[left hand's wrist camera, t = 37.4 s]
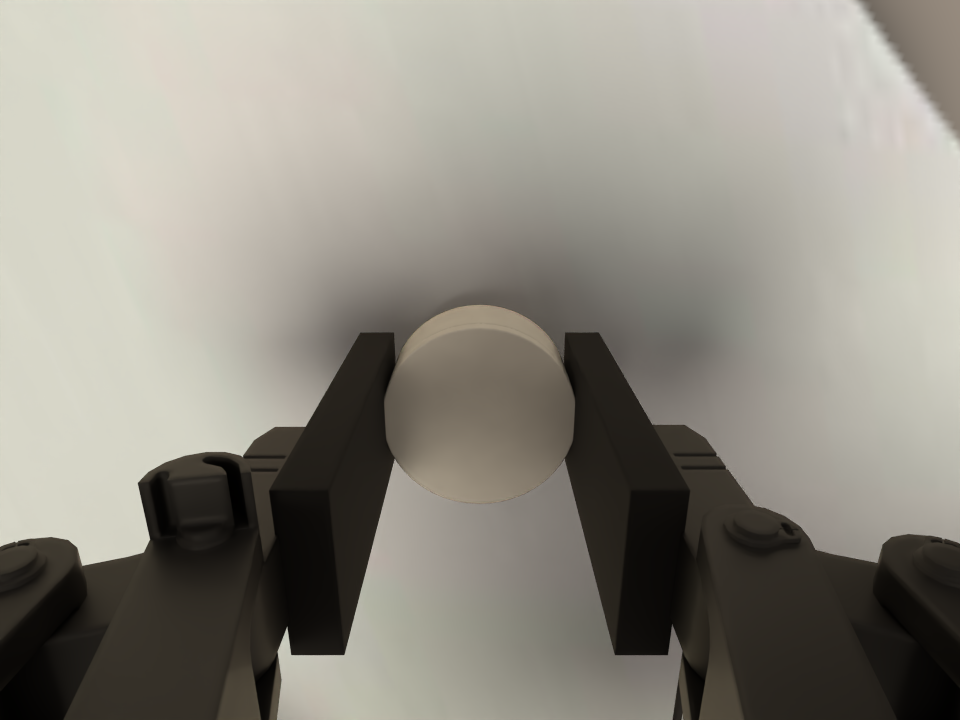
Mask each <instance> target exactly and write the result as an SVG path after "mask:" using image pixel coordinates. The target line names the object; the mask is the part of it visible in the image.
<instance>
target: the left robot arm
mask: <svg viewBox="0 0 960 720" xmlns="http://www.w3.org/2000/svg"><path fill="white" fill-rule="evenodd" d="M395 365H396V363H395V343H394V333H360V334H359V336H358V338H357V340H356V341H355V343H354V345H353V346H352V348H351V350H350V352H349V353H348V355H347V357H346V359H345V360H344V362H343V364H342V365H341V367H340V369H339V371H338V372H337V374H336V376H335V377H334V379H333V381H332V383H331V384H330V386H329V388H328V389H327V391H326V393H325V395H324V396H323V398H322V400H321V402H320V403H319V405H318V407H317V408H316V410H315V412H314V414H313V415H312V417H311V419H310V420H309V422H308V424H307V426H306V427H274V428H273V429H271V430H270V431H268V432H267V433H265V434H263V435H262V436H260V437H259V438H257V439H256V440H254V441H253V443H252V444H251V446H250V447H249V448H248V450H247V451H246V453H245V454H244V455H243V457H242V456H239V455H235V454H231V453H227V452H205V453H199V454H193V455H187V456H183V457H180V458H177V459H175V460H172V461H169V462H166V463H164V464H162V465H160V466H158V467H157V468H155V469H153V470H151V471H150V472H148V473H147V474H146V475H145V476H144V477H143V478H142V479H141V480H140V481H139V482H138V486H139V491H140V495H141V500H142V504H143V509H144V513H145V518H146V522H147V527H148V531H149V536H150V541H149V543H148V545H147V547H146V549H145V552H144V553H141V554H137V555H134V556H130V557H125V558H120V559H115V560H110V561H105V562H100V563H95V564H90V565H85V566H82V564H81V560H80V556H79V553H78V549H77V547H76V546H75V545H73V544H72V543H71V542H70V541H69V540H64V539H59V538H53V537H48V538H37V539H26V540H21V541H18V542H17V543H15V542H13V543H10V544H6V545H3V546H1V547H0V720H277V713H278V704H279V696H280V688H281V673H280V666H279V659H278V652H277V651H278V649H279V646H280V644H281V641H282V638H283V636H284V633H285V631H286V628H287V627H288V634H289V641H290V649H291V655H344V654H345V650H346V646H347V643H348V639H349V635H350V631H351V627H352V623H353V619H354V615H355V611H356V607H357V604H358V600H359V596H360V592H361V588H362V584H363V580H364V576H365V572H366V568H367V564H368V561H369V557H370V553H371V549H372V545H373V541H374V537H375V533H376V529H377V525H378V521H379V518H380V514H381V510H382V506H383V502H384V498H385V494H386V490H387V486H388V482H389V479H390V475H391V471H392V467H393V463H394V459H395V458H394V456H393V454H392V453H391V451H390V448H389V446H388V444H387V441H386V427H385V410H384V396H385V393H386V390H387V387H388V384H389V381H390V379H391V376H392V373H393V370H394V367H395ZM564 366H565V369H566V372H567V375H568V378H569V380H570V383H571V386H572V389H573V393H574V396H575V415H574V432H573V442H572V444H571V447H570V449H569V451H568V453H567V455H566V457H565V462H566V466H567V469H568V473H569V477H570V481H571V485H572V489H573V493H574V497H575V501H576V505H577V509H578V512H579V516H580V520H581V524H582V528H583V532H584V536H585V540H586V544H587V548H588V552H589V555H590V559H591V563H592V567H593V571H594V575H595V579H596V583H597V587H598V591H599V595H600V598H601V602H602V606H603V610H604V614H605V618H606V622H607V626H608V630H609V634H610V638H611V641H612V645H613V649H614V653H615V655H668V651H669V643H670V636H671V629H672V624H673V627H674V629H675V632H676V635H677V637H678V640H679V642H680V645H681V648H682V650H683V652H682V659H681V666H680V673H679V680H678V686H677V693H676V700H675V707H674V714H673V720H681V719H682V713H683V719H684V720H960V544H959V543H957V542H954V541H950V540H947V539H945V540H943V539H942V538H939V537H934V536H923V535H912V534H907V535H901V536H896V537H891V538H890V539H889V540H888V541H887V542H885V543H884V544H883V545H882V549H881V553H880V557H879V560H878V563H874V562H869V561H864V560H859V559H854V558H848V557H843V556H838V555H833V554H829V553H825V552H821V551H817V550H815V548H814V546H813V544H812V542H811V540H810V538H809V537H808V536H807V535H806V533H805V532H804V531H803V530H802V528H801V527H800V526H798V525H797V524H795V523H794V522H792V521H791V520H789V519H788V518H786V517H785V516H783V515H781V514H778V513H776V512H773V511H771V510H768V509H766V508H761V507H756V506H754V505H753V503H752V502H751V501H750V499H749V498H748V496H747V495H746V494H745V492H744V491H743V490H742V488H741V487H740V485H739V484H738V483H737V481H736V480H735V479H734V477H733V476H732V474H731V473H730V472H729V470H726V466H725V465H724V463H723V462H722V461H721V459H720V458H719V457H717V456H716V452H715V451H714V450H713V448H712V447H711V445H710V444H709V443H708V441H707V440H706V439H705V438H704V437H703V436H701V435H699V434H698V433H696V432H695V431H693V430H691V429H690V428H688V427H687V426H685V425H652V424H651V422H650V420H649V418H648V417H647V415H646V413H645V411H644V410H643V408H642V406H641V405H640V403H639V401H638V399H637V398H636V396H635V394H634V393H633V391H632V389H631V387H630V386H629V384H628V382H627V380H626V379H625V377H624V375H623V374H622V372H621V370H620V368H619V367H618V365H617V363H616V362H615V360H614V358H613V356H612V355H611V353H610V351H609V349H608V348H607V346H606V344H605V343H604V341H603V339H602V337H601V336H600V334H599V333H565V349H564Z"/></svg>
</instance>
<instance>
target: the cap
mask: <svg viewBox="0 0 960 720" xmlns="http://www.w3.org/2000/svg"><path fill="white" fill-rule="evenodd" d="M384 410H385V427H386V441H387V444H388V446H389V448H390V451H391V453H392V454H393V456H394V458H395V459H396V461H397V463H398V464H399V465H400V466H401V468H402V469H403V470H404V471H405V472H406V473H407V474H408V475H409V476H410V477H411V478H412V479H413V480H414V481H415V482H417V483H418V484H419V485H421V486H422V487H424V488H425V489H427V490H429V491H430V492H432V493H434V494H437V495H439V496H441V497H444V498H447V499H450V500H454V501H459V502H464V503H475V504H483V503H495V502H501V501H505V500H509V499H512V498H515V497H518V496H520V495H523V494H525V493H527V492H529V491H530V490H532V489H534V488H536V487H537V486H539V485H540V484H541V483H543V482H544V481H545V480H546V479H547V478H549V477H550V476H551V475H552V474H553V473H554V472H555V470H556V469H557V468H558V467H559V466H560V464H561V463H562V461H563V460H564V458H565V457H566V455H567V453H568V451H569V449H570V447H571V444H572V442H573V432H574V415H575V396H574V393H573V389H572V386H571V383H570V380H569V378H568V375H567V372H566V369H565V366H564V364H563V361H562V358H561V356H560V354H559V352H558V349H557V348H556V346H555V345H554V343H553V341H552V340H551V339H550V337H549V336H548V335H547V334H546V333H545V332H544V331H543V330H542V329H541V328H540V327H539V326H538V325H537V324H535V323H534V322H532V321H531V320H529V319H528V318H526V317H525V316H523V315H521V314H519V313H517V312H514V311H511V310H508V309H505V308H501V307H496V306H490V305H468V306H463V307H458V308H454V309H451V310H448V311H445V312H443V313H441V314H439V315H436V316H435V317H433V318H431V319H430V320H428V321H427V322H425V323H424V324H423V325H422V326H420V327H419V328H418V329H417V330H416V331H415V332H414V333H413V334H412V335H411V337H410V338H409V339H408V341H407V342H406V343H405V345H404V346H403V348H402V350H401V352H400V354H399V356H398V359H397V362H396V365H395V367H394V370H393V373H392V376H391V379H390V381H389V384H388V387H387V390H386V393H385V396H384Z"/></svg>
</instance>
